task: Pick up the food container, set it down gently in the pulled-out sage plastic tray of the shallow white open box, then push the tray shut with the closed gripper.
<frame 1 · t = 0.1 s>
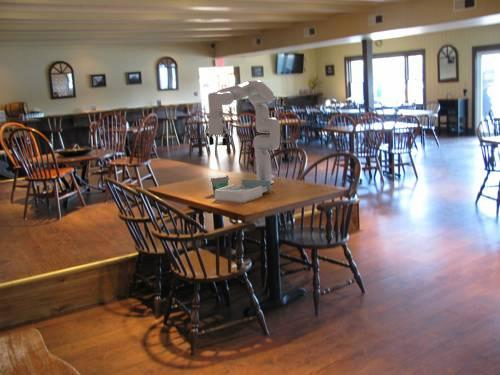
hand: (218, 144, 293), 31 cm above the table, tool pointing down, fingers open, 9 cm apart
food container: (222, 193, 313), on the table
shallow white open box: (239, 197, 297), on the table
tray: (247, 187, 303), point 4 cm above the table, slide at 8.0 cm
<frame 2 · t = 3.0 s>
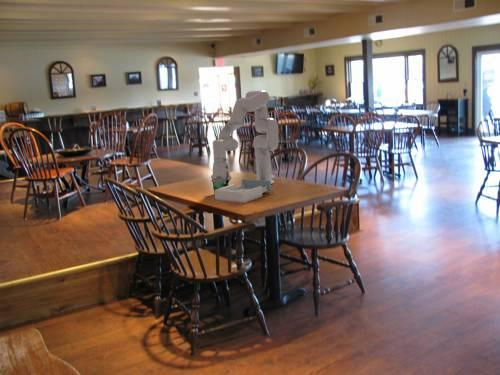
hand: (221, 189, 312), 2 cm above the table, tool pointing down, fingers closed on food container, 5 cm apart
food container: (223, 193, 312), on the table, touching gripper
everything else where it was.
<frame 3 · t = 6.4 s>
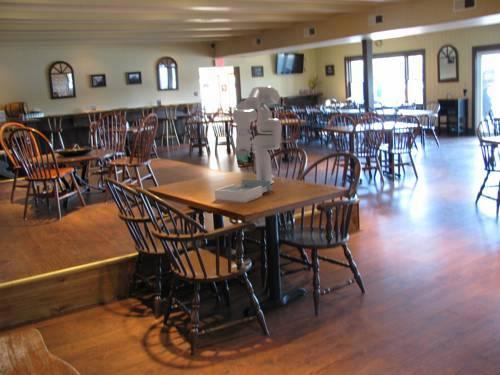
hand: (245, 162, 300), 19 cm above the table, tool pointing down, fingers closed on food container, 5 cm apart
food container: (247, 166, 300), point 17 cm above the table, touching gripper
everything else where it was.
when the fingers open (6 cm above the table, at t = 9.4 s): food container moves 1 cm, resting on tray.
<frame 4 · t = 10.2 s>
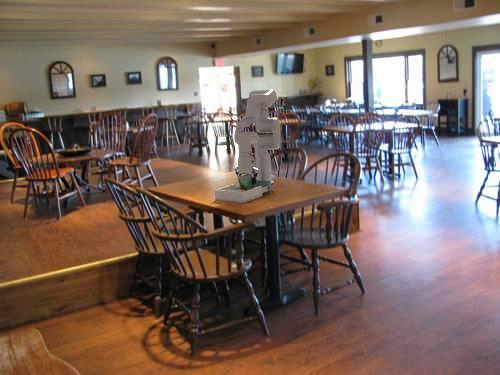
hand: (247, 183, 302), 7 cm above the table, tool pointing down, fingers open, 9 cm apart
food container: (250, 191, 302), point 2 cm above the table, touching tray
tray: (248, 187, 303), point 4 cm above the table, slide at 8.2 cm, touching food container
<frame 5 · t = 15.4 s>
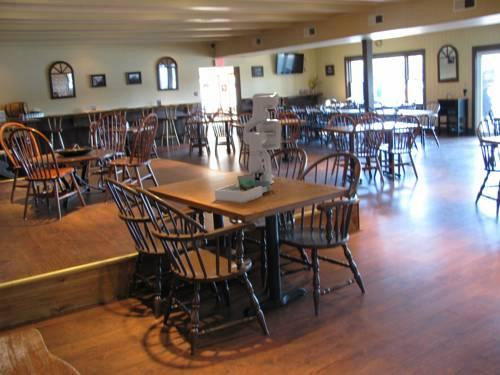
hand: (257, 183, 311), 5 cm above the table, tool pointing down, fingers closed
tray: (247, 187, 302), point 4 cm above the table, slide at 7.6 cm, touching food container, gripper
everything else where it was.
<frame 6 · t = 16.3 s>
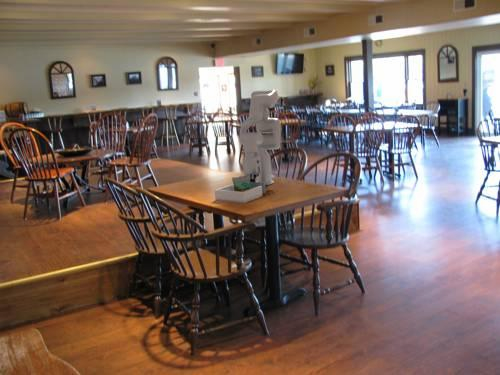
hand: (252, 185, 306), 5 cm above the table, tool pointing down, fingers closed
food container: (244, 193, 298), point 2 cm above the table, touching tray
tray: (242, 189, 298), point 4 cm above the table, slide at 2.4 cm, touching food container, gripper
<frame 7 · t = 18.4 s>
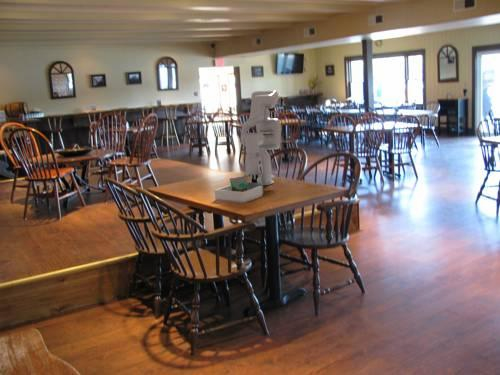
hand: (254, 185, 309), 4 cm above the table, tool pointing down, fingers closed
food container: (242, 194, 296), point 2 cm above the table, touching tray
tray: (240, 190, 296), point 4 cm above the table, slide at 0.1 cm, touching food container
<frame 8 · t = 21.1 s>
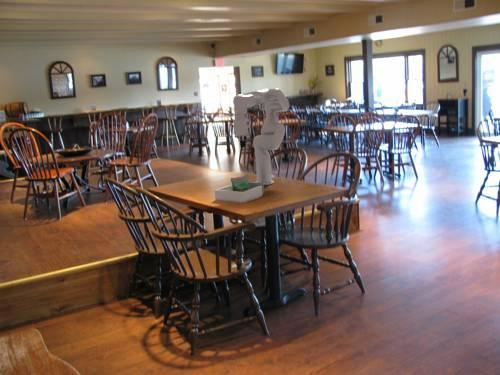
hand: (242, 147, 310), 27 cm above the table, tool pointing down, fingers closed
tray: (240, 190, 297), point 4 cm above the table, slide at 0.9 cm, touching food container
everything else where it was.
at the end: tray slide at 0.9 cm; food container inside the target area on the shallow white open box (1.8 cm from its centre), point 2.1 cm above the shallow white open box's base; food container tilted 0° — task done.
